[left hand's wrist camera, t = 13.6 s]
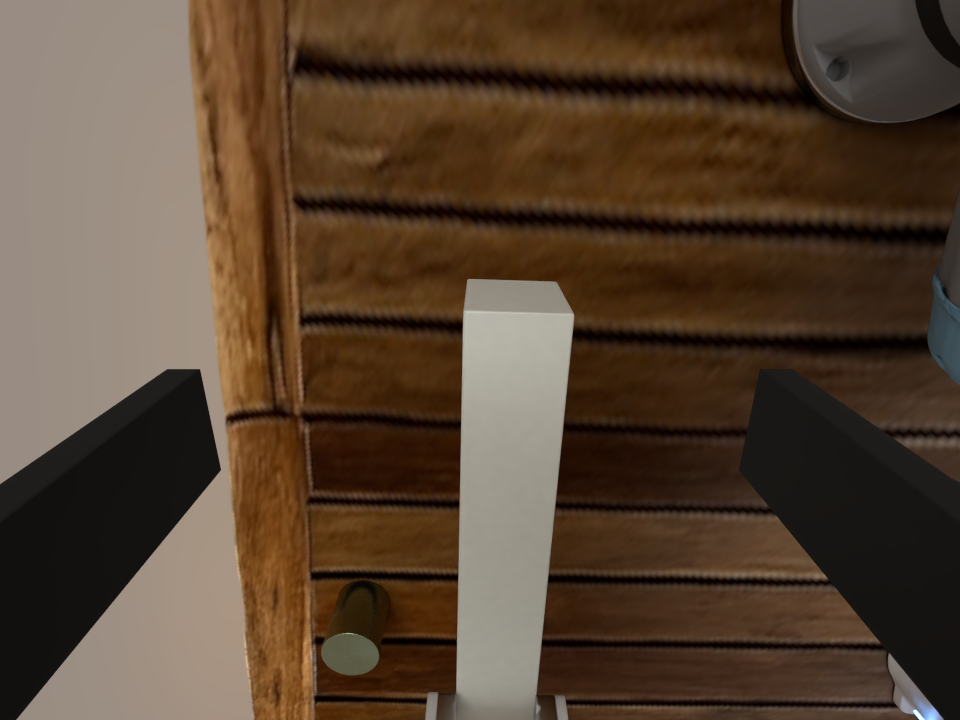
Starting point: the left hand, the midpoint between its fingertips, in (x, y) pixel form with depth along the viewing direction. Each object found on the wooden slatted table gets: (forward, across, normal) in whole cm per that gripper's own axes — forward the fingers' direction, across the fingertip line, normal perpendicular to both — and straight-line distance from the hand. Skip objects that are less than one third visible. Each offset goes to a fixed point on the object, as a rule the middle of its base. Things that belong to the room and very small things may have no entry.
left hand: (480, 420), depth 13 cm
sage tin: (+28, +11, +34) cm, 46 cm away
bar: (+12, -1, +11) cm, 17 cm away
